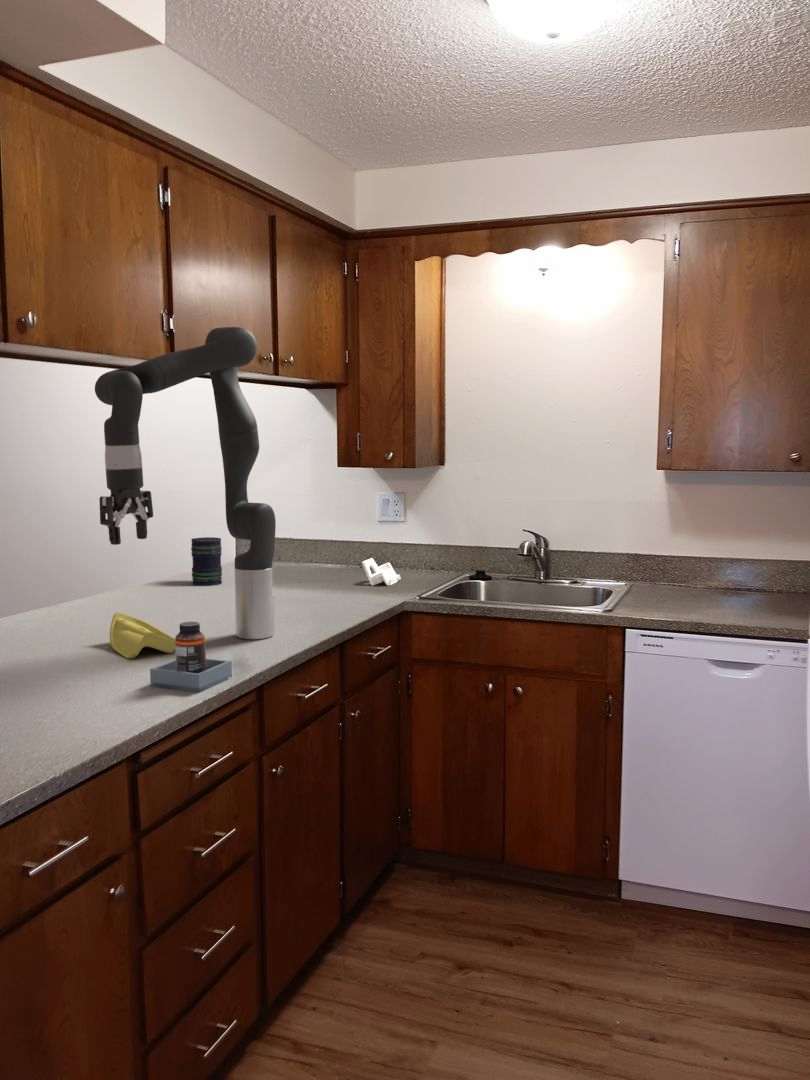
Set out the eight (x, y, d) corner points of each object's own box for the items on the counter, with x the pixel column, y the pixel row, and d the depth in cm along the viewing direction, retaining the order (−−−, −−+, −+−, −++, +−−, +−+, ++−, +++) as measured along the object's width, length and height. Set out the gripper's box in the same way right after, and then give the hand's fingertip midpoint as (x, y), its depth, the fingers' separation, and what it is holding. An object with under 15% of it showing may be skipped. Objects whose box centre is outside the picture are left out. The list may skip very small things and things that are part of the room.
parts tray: (184, 671, 193) (184, 655, 193) (231, 677, 189) (231, 661, 189) (150, 686, 183) (150, 668, 182) (199, 692, 178) (199, 674, 178)
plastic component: (181, 643, 210) (143, 629, 204) (167, 672, 209) (129, 660, 203) (147, 622, 225) (111, 609, 219) (134, 650, 224) (98, 638, 218)
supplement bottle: (195, 672, 190) (194, 619, 189) (211, 677, 186) (211, 623, 185) (170, 677, 186) (169, 623, 185) (186, 683, 182) (185, 627, 180)
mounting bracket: (386, 586, 312) (374, 557, 312) (402, 579, 310) (389, 550, 310) (374, 592, 301) (361, 561, 301) (390, 585, 299) (377, 555, 299)
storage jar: (186, 585, 300) (185, 540, 298) (199, 580, 310) (198, 537, 308) (214, 586, 298) (213, 541, 296) (227, 581, 308) (226, 537, 306)
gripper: (115, 469, 187) (120, 547, 189) (159, 464, 200) (164, 537, 202) (86, 468, 189) (92, 545, 192) (131, 464, 202) (136, 536, 205)
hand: (129, 541), depth 197 cm, fingers open, 8 cm apart
